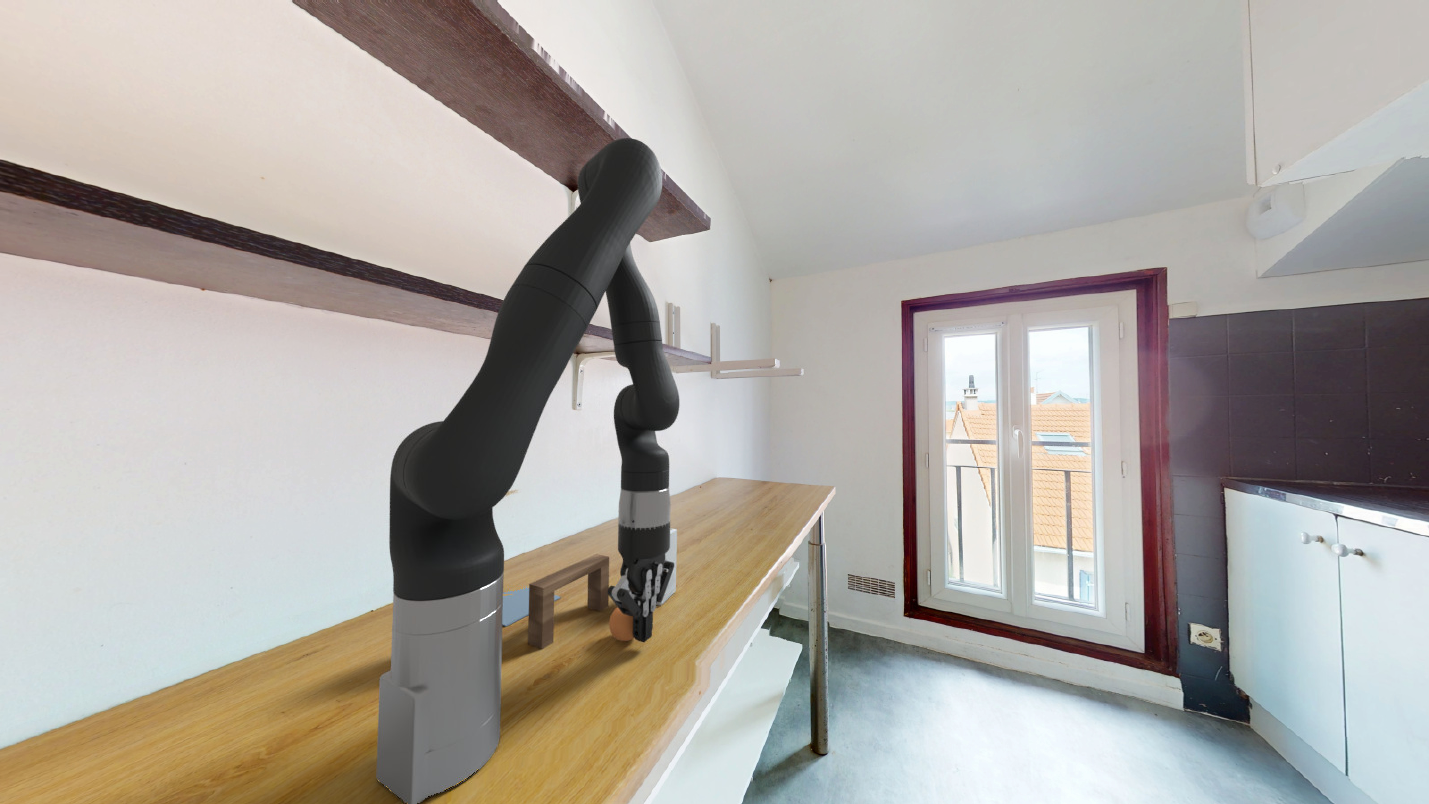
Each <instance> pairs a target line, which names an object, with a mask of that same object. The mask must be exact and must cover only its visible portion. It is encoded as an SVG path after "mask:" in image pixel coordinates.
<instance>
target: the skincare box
mask: <svg viewBox="0 0 1429 804" xmlns="http://www.w3.org/2000/svg"><path fill="white" fill-rule="evenodd" d="M677 543H678V529H677V528H670V548H669V550H668V552H667V553H665V559H666V560H667V561H670V562H674V569H673V572H672V575H671V577H670V580H669V583H668V586H667V588H666V591H665V594H664V597H663V600H662V601H661V602H657V603H656V606H662V605H664V603H666V602H667V600H669V599H670V597H671V596H672V595H674V593H675V592H676V591H677V547H678V546H677V545H678V544H677Z"/></svg>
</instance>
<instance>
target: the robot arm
mask: <svg viewBox="0 0 1429 804" xmlns="http://www.w3.org/2000/svg"><path fill="white" fill-rule="evenodd" d="M577 191H578V197H579V202H580V204H579V205H578V206H577V208H576V209H575V210H574V211H573V212H572V213H571V214H570V215H569V216H567V218H566V219H564V221H563V222H561V224H560V225H559V226H558V227H556V229H554V231H553V232H552V233H551V234H550V235H549V236H548V237H547V238H546V239H545V240H544V242H542V244H541V245H540V246H539V247H538V248H537V250H535V252H534V253H533V254H532V256H531V257H530V258H529V259H528V261H527V262H526V263H525V265H524V266H523V267H522V269H521V271H520V273H518V276H516V279H515V280H514V281H513V283H512V285H511V286H510V288H509V289H508V291H507V293H506V294H505V297H504V299H503V300H502V303H501V304H500V305H501V306H500V307H499V310H498V312H497V315H496V319H495V322H494V325H493V328H492V333H491V338H490V341H489V345H488V349H487V352H486V355H485V358H484V361H483V362H482V365H481V366H480V368H479V370H478V372H477V374H476V375H475V377H474V379H473V380H472V382H471V384H470V385H469V386H468V388H467V389H466V391H465V392H464V394H463V395H462V396H461V397H460V399H459V401H457V403H456V404H455V406H454V407H453V409H452V410H451V411H450V412H449V413H448V415H447V416H446V417H445V418H444V419H443V420H440V421H434V422H431V423H428V424H425V425H422V426H421V427H419V428H416V429H415V430H413V431H412V432H411V433H409V434H408V435H407V436H406V437H405V438H403V440H402V441H401V442H400V444H399V445H398V447H397V448H396V451H395V453H394V455H393V458H392V462H391V467H390V468H391V469H390V476H389V477H390V478H389V534H388V535H389V538H388V539H389V542H388V543H389V556H390V557H389V558H390V561H391V568H392V575H393V577H392V579H393V580H392V581H393V584H392V585H393V586H392V589H393V591H392V592H393V596H392V598H393V599H392V626H391V627H392V628H391V652H390V653H391V655H390V670H388V671H385V672H384V673H383V674H381V676H380V677H379V690H378V691H379V692H378V714H377V715H378V719H377V721H378V722H377V745H376V748H377V749H376V750H377V751H376V775H375V776H376V777H375V779H376V778H377V779H378V780H379V781H380V782H381V783H382V784H384V786H383V787H385V786H387V787H388V788H389V789H390V790H391V791H392V792H393V793H394V794H396V795H397V796H398V797H399V798H401V799H402V800H403V801H404V802H405V803H408V804H417V803H419V804H420V803H422V802H423V801H424V800H426V799H427V798H429V797H428V796H430V797H432V796H435V795H436V793H438V794H441V793H443V792H445V791H444V790H445V789H447V788H449V787H451V786H454V785H456V784H457V783H459V782H460V781H462V780H464V779H465V778H468V777H469V776H470V775H472V774H473V773H474V772H475V773H476V771H477V769H479V770H481V768H482V767H484V765H485V764H487V762H488V761H489V760H490V759H491V757H492V756H493V754H494V753H495V751H496V750H497V748H498V745H499V743H500V738H501V711H502V710H501V707H502V706H501V705H502V704H501V702H502V701H501V700H502V698H501V696H502V662H503V661H502V659H503V657H502V656H503V626H502V617H503V592H504V578H505V577H504V573H505V571H504V570H505V550H504V545H503V543H502V540H501V539H500V536H499V534H498V533H497V528H496V525H495V521H494V513H493V508H494V507H495V506H496V505H497V504H498V503H500V502H501V501H502V500H503V499H504V498H505V496H507V494H508V493H509V491H510V489H512V487H513V486H514V483H515V481H516V479H517V477H518V475H519V473H520V470H521V468H522V465H523V463H524V460H525V458H526V454H527V452H528V449H529V447H530V444H531V442H532V440H533V437H534V434H535V432H536V430H537V427H538V425H539V422H540V418H541V416H542V414H543V412H544V409H545V407H546V405H547V403H548V401H549V398H550V396H551V395H552V393H553V391H554V389H555V388H556V385H557V384H558V382H559V380H560V379H561V377H562V375H563V374H564V372H565V369H566V368H567V366H568V364H569V362H570V361H571V358H572V356H573V354H574V352H575V350H576V348H577V347H578V345H579V343H580V342H581V340H582V339H583V337H584V335H585V333H586V331H587V330H588V327H589V325H590V323H591V321H592V319H593V318H594V316H595V314H596V313H597V310H598V309H599V306H600V304H601V301H602V299H603V297H604V296H606V300H607V306H608V314H609V318H610V319H609V320H610V321H609V322H610V328H611V335H612V342H613V343H612V344H613V350H614V356H615V358H616V361H617V363H618V365H620V366H622V367H623V368H626V369H627V370H628V371H629V375H630V378H631V381H632V384H628V385H627V386H625V387H623V388H621V390H620V391H619V393H618V394H617V396H616V399H615V402H614V407H613V422H614V423H613V424H614V429H615V434H616V440H617V441H616V442H617V445H618V450H619V452H620V457H621V467H620V493H619V494H620V495H619V500H618V522H617V523H618V524H617V525H618V527H617V528H618V530H617V532H618V533H617V551H618V553H619V554H620V556H621V558H622V564H621V567H620V570H619V574H620V578H619V580H618V582H617V583H616V585H610V586H609V588H608V592H607V593H608V595H609V598H610V599H611V600H612V602H613V603H614V605H616V608H617V607H618V608H619V609H620V611H621V612H622V613H623V614H625V615H628V616H632V617H633V637H634V638H633V639H634V640H636V641H638V642H642V643H646V642H647V641H648V640H649V639H650V638H652V636H653V628H654V624H653V623H654V612H655V610H656V608H657V605H656V603H657V602H661V601H662V600H663V597H664V594H665V591H666V588H667V586H668V583H669V580H670V577H671V575H672V572H673V569H674V562H670V561H667V560H666V559H665V553H667V552H668V550H669V548H670V529H671V509H672V508H671V506H672V505H671V496H670V456H669V453H668V451H667V450H665V449H664V447H662V446H660V445H659V443H658V441H657V434H656V432H661V431H665V430H667V429H669V428H670V427H672V426H673V425H674V423H675V422H676V420H677V419H678V415H679V412H680V394H679V389H678V387H677V384H676V380H675V379H674V375H673V372H672V371H671V370H672V369H671V367H670V363H669V362H668V359H667V358H666V355H665V352H664V346H663V336H662V330H661V329H662V328H661V321H660V315H659V309H658V305H657V303H656V299H655V296H654V295H653V293H652V291H651V288H650V286H649V285H648V283H647V282H646V279H644V277H643V276H642V273H641V272H640V270H639V268H638V266H637V264H636V262H635V259H634V256H633V253H632V251H633V250H632V248H631V247H632V246H631V242H632V241H633V238H634V237H635V236H636V234H637V233H638V232H639V230H640V229H641V227H642V226H643V224H644V222H645V221H646V220H647V219H648V217H649V216H650V215H651V213H652V212H653V210H654V209H655V207H656V206H657V204H658V203H659V201H660V197H661V194H662V191H663V174H662V168H661V166H660V162H659V160H658V158H657V156H656V154H655V152H654V151H653V150H652V149H651V148H650V147H649V146H648V145H647V144H645V143H644V142H643V141H641V140H639V139H636V138H632V137H623V138H618V139H616V140H613V141H610V142H609V143H608V144H606V145H604V147H603V148H601V149H600V150H599V151H598V152H597V153H596V154H595V155H593V156H592V157H591V158H590V159H589V160H588V161H586V162H585V164H584V165H583V166H582V167H581V169H580V171H579V172H578V176H577ZM477 772H478V771H477ZM475 773H474V774H475ZM474 774H473V775H474ZM473 775H472V776H473ZM469 778H470V777H469ZM469 778H468V779H469ZM377 779H376V780H377ZM379 781H378V782H379ZM464 781H465V780H464ZM380 782H379V783H380ZM381 783H380V784H381ZM382 784H381V785H382ZM456 786H457V785H456ZM454 787H455V786H454ZM390 790H389V791H390ZM391 791H390V792H391ZM392 792H391V793H392ZM440 792H441V793H440ZM393 793H392V794H393ZM394 794H393V795H394ZM434 794H435V795H434ZM396 795H395V796H396ZM431 795H432V796H431ZM397 796H396V797H397ZM398 797H397V798H398ZM399 798H398V799H399ZM425 798H426V799H425ZM401 799H400V800H401ZM402 800H401V801H402ZM403 801H402V802H403ZM404 802H403V803H404ZM405 803H404V804H405Z"/></svg>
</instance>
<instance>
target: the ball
mask: <svg viewBox="0 0 1429 804" xmlns="http://www.w3.org/2000/svg"><path fill="white" fill-rule="evenodd" d="M608 622H609V624H608V625H609V630H610V634H611V635H612V636H613V637H614V638H615V639H616V640H618V641H622V642H628V641H631V640H632V639H635V638H634V637H633V617H632V616H628V615H625V614H623V613H622V612H621V611H620V609H619V608H618V607H617V606H616V607H615V609H614V610H613V611H612V613H611V614H610V617H609V621H608Z"/></svg>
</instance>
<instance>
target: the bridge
mask: <svg viewBox="0 0 1429 804" xmlns="http://www.w3.org/2000/svg"><path fill="white" fill-rule="evenodd" d="M586 576H587V605H586V606H587V609H591V610H594V611H597V612H602V611H604V610H606V609H607V608H608V607H610V605H609V600H610V599H609V598H610V596H609V595H608V593H607V592H608V588H609V587H610V586H609V585H610V556H607V555H603V554H598V553H596V554H593V555H591V556H589V557H586V558H585V559H582V560H580V561H577V562H575V563H573V564H570V565H568V566H566V567H565V568H562V569H559V570H558V571H555V572H553V573H551V574H549V575H546V576H544V577H542V578H539V579H537V580H535V581H532V582H530V583H528V587H529V615H528V617H527V619H528V625H527V626H528V629H527V644H528V645H530V646H533V647H535V648H537V649H538V648H539V649H541V650H543V649H545V648H546V647H548V646H549V645H551V644H553V643H554V637H555V636H554V634H555V633H554V628H555V627H554V626H555V625H554V624H555V601H554V595H555V591H557V590H559V589H561V588H564V587H565V586H567V585H569V584H571V583H574V582H575V581H577V580H579V579H581V578H583V577H586Z"/></svg>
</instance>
